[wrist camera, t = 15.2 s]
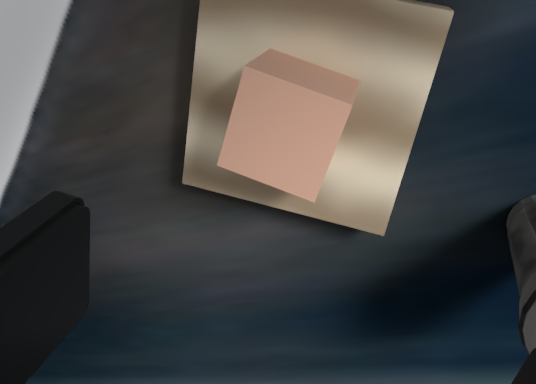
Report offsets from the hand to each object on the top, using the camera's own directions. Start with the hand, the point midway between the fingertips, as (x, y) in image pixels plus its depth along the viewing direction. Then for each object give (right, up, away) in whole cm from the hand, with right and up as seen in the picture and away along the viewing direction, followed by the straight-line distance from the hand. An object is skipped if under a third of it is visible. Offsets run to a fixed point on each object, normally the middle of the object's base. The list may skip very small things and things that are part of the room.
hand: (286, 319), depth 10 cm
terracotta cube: (+2, +8, +22) cm, 24 cm away
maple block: (+3, +10, +26) cm, 28 cm away
